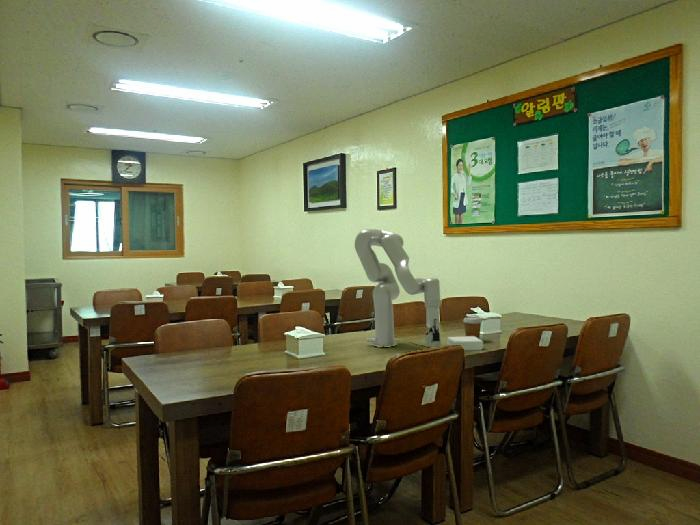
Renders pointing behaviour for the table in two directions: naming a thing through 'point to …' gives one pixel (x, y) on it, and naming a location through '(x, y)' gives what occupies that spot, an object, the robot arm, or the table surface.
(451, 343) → the stand
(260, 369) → the table surface
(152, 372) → the table surface
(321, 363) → the table surface
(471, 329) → the disposable coffee cup
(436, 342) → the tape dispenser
